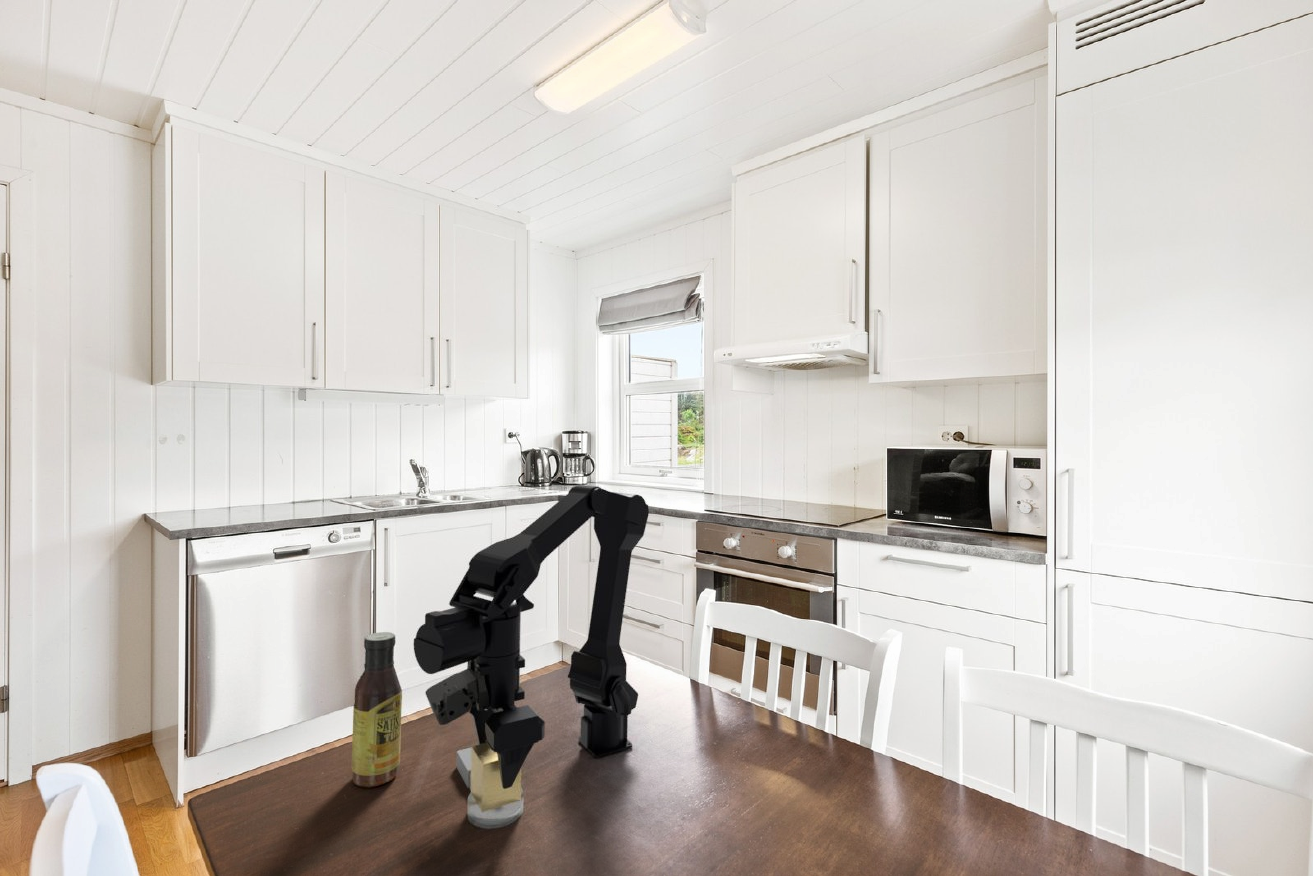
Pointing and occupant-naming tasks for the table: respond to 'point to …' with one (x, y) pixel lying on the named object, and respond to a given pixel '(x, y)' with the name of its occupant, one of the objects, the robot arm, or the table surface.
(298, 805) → the table surface
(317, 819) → the table surface
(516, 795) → the wooden toy block
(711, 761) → the table surface
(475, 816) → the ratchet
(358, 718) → the sauce bottle
